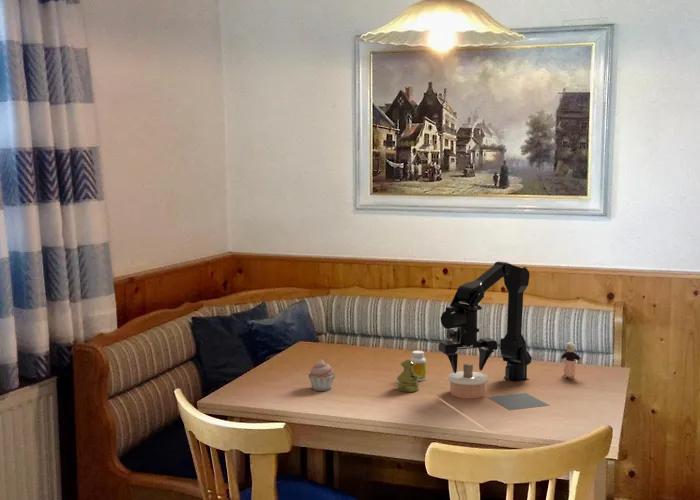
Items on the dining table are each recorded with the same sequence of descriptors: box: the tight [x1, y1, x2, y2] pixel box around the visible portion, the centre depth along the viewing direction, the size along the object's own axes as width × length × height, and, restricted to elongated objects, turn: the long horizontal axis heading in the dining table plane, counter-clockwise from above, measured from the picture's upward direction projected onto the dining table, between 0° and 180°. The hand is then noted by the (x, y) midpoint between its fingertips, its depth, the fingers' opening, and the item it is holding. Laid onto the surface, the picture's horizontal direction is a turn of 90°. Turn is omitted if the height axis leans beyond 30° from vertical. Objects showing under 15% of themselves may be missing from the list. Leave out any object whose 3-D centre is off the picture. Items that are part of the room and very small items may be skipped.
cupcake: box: [307, 359, 336, 392], centre depth 262 cm, size 9×9×10 cm
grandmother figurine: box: [559, 341, 583, 380], centre depth 273 cm, size 8×4×13 cm, turn 68°
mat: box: [487, 392, 550, 411], centre depth 246 cm, size 14×14×1 cm
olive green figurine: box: [396, 359, 420, 393], centre depth 261 cm, size 7×7×10 cm
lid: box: [447, 362, 489, 385], centre depth 254 cm, size 13×13×5 cm
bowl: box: [449, 381, 486, 399], centre depth 255 cm, size 11×11×5 cm
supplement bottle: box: [410, 350, 427, 382], centre depth 273 cm, size 5×5×10 cm
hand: (467, 371), depth 254 cm, fingers open, 9 cm apart
